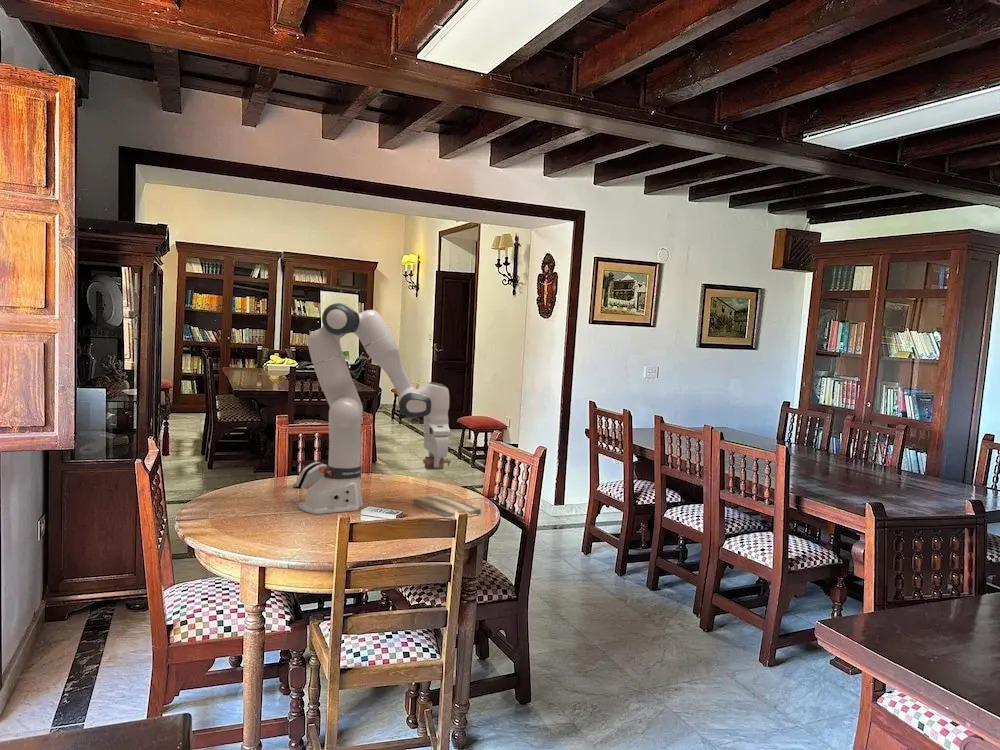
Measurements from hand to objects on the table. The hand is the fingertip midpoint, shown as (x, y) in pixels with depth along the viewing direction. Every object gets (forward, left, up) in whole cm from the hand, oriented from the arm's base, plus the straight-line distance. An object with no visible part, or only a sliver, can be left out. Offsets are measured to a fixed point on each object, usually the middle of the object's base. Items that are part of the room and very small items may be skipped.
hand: (434, 465), depth 245 cm
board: (+2, -6, -15) cm, 16 cm away
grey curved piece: (-21, +52, -15) cm, 59 cm away
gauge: (0, 0, -1) cm, 1 cm away
